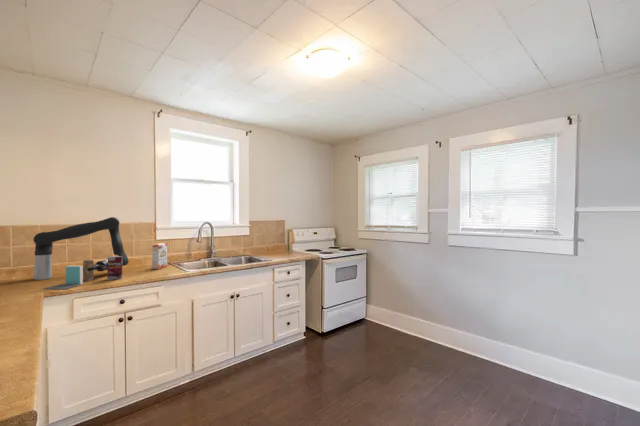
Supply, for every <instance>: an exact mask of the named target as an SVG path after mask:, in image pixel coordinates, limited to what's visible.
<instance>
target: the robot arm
mask: <svg viewBox="0 0 640 426" xmlns="http://www.w3.org/2000/svg"><path fill="white" fill-rule="evenodd" d="M105 230H108V232H109V235H110V241H111V248H112V252H113V255H115V256H123V258H122V267H123V266H124V267H125V266H127V265H128V264H129V258H128V256H127V253H126V252H125V250H124V244H123V241H122V239H121V233H120V220H119V219H118V218H117V217H115V216H112V217H111V216H110V217H107V218H104V219H102V220H98V221H90V222H84V223H79V224H73V225H71V226H66V227H64V228H62V229H61V228H60V229H57V230H53V231H52V230H51V231H42V232H38V233H37V234H35V235H34V237H33V242H34V244H35V249H34V265H33V266H32V268H33V269H32V271H33V274H32V275H33V280H34V281H40V280H47V279H48V280H49V279H51V278H53V247H54V245H53V244H54V243H55V242H58V241H63V240H64V241H65V240H69V239H70V240H71V239H75V238H81V237H85V236H88V235H91V234H94V233H97V232H101V231H105ZM92 270H93V272H94V271H97V272H104V271H107V270H108V259H104V260H98V261H97V262H95V264H94V263H93V267H90V268H88V269H87V271H92Z"/></svg>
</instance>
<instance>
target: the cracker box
mask: <svg viewBox="0 0 640 426" xmlns="http://www.w3.org/2000/svg"><path fill="white" fill-rule="evenodd" d="M151 251H152V252H151V270H160V269H164V268H167V267H168V243H167V242H160V243H159V242H158V243H153V244H152V245H151Z"/></svg>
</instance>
